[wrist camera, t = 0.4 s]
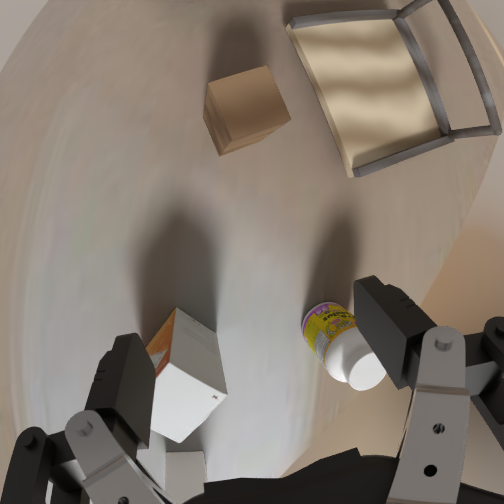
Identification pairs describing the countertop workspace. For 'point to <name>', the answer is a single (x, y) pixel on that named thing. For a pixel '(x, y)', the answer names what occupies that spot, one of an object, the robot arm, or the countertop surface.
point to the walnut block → (243, 109)
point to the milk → (185, 475)
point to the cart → (381, 85)
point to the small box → (185, 376)
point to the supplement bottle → (341, 346)
